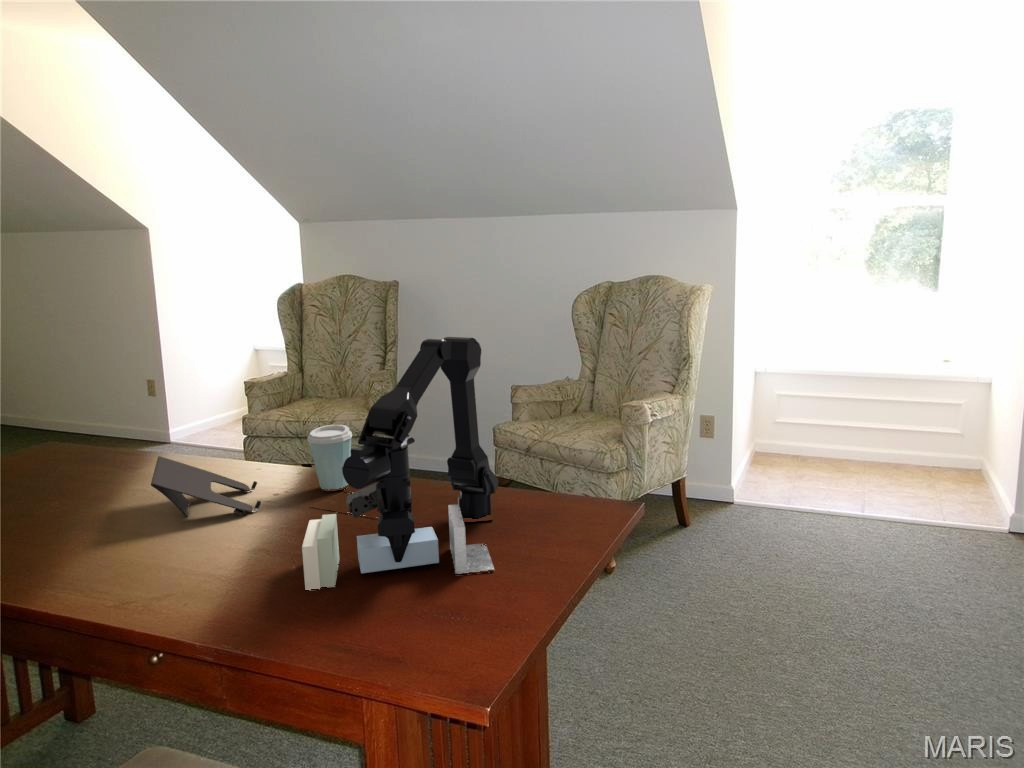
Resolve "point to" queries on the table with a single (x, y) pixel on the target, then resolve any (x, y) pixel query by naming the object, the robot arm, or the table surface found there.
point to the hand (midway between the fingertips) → (398, 554)
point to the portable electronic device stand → (195, 485)
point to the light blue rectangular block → (380, 557)
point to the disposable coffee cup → (330, 454)
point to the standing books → (321, 553)
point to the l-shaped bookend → (465, 546)
